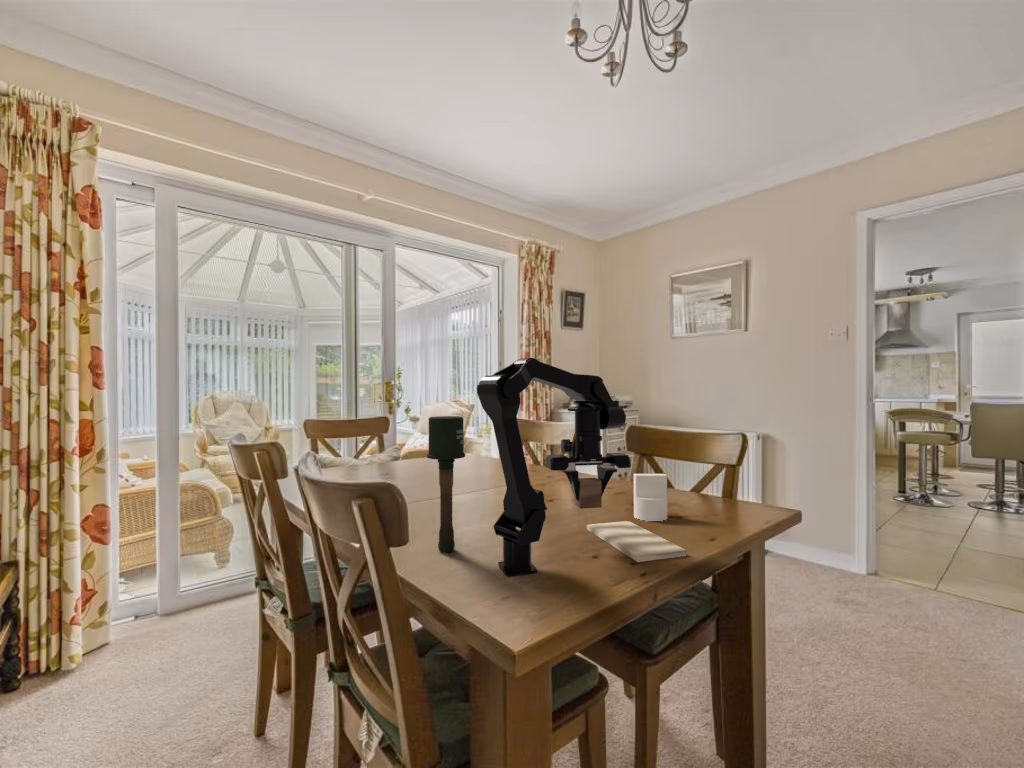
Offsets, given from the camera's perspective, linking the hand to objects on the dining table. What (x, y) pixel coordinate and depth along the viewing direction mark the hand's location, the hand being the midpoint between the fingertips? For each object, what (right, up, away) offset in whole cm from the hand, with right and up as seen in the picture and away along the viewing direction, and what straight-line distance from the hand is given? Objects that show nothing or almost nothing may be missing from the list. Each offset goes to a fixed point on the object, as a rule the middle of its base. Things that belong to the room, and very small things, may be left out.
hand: (588, 499), depth 107 cm
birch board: (+11, -11, +4) cm, 16 cm away
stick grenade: (-32, -11, -2) cm, 34 cm away
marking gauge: (-1, -2, +4) cm, 4 cm away
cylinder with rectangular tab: (+22, -11, +25) cm, 35 cm away
